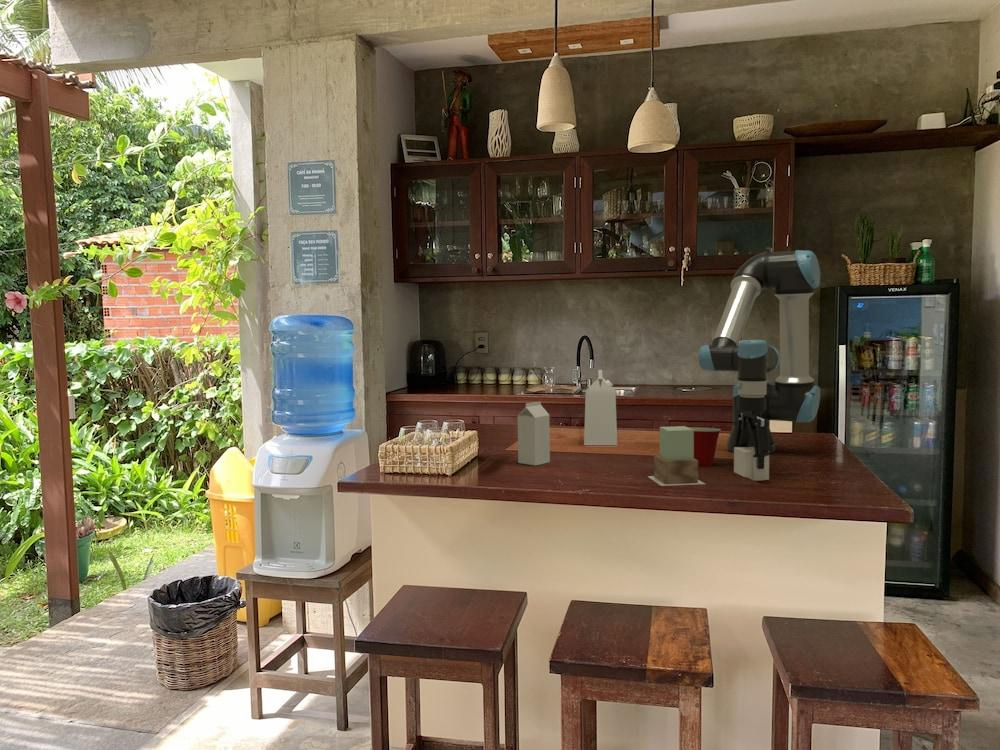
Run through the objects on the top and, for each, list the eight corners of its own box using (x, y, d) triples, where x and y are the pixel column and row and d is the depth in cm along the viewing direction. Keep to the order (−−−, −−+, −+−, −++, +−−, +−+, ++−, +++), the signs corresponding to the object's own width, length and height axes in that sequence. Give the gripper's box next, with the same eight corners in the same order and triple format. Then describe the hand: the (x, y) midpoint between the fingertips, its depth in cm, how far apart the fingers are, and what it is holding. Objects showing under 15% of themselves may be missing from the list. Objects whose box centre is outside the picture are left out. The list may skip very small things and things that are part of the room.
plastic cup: (721, 464, 231) (722, 425, 230) (719, 471, 221) (720, 430, 220) (685, 463, 235) (685, 424, 234) (681, 469, 225) (681, 429, 224)
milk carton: (550, 462, 239) (549, 402, 237) (535, 466, 234) (534, 404, 232) (532, 460, 244) (532, 400, 242) (517, 463, 238) (517, 402, 237)
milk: (584, 440, 280) (584, 369, 278) (616, 440, 279) (616, 369, 277) (584, 446, 268) (583, 372, 266) (617, 446, 267) (616, 371, 265)
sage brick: (684, 455, 210) (684, 426, 209) (693, 459, 203) (693, 429, 202) (659, 456, 209) (659, 426, 208) (667, 460, 202) (667, 430, 201)
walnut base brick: (686, 475, 211) (686, 454, 211) (698, 482, 202) (698, 460, 202) (654, 477, 210) (654, 455, 210) (664, 484, 201) (664, 461, 201)
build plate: (689, 478, 213) (689, 474, 213) (705, 487, 201) (705, 483, 201) (647, 479, 212) (647, 476, 212) (661, 489, 200) (661, 485, 200)
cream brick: (757, 474, 217) (757, 446, 216) (768, 479, 210) (769, 450, 209) (733, 475, 216) (734, 447, 215) (744, 480, 209) (744, 451, 208)
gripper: (723, 392, 222) (722, 469, 223) (756, 400, 200) (755, 485, 202) (747, 391, 222) (747, 468, 224) (783, 399, 201) (782, 484, 202)
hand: (751, 476), depth 213 cm, fingers open, 9 cm apart
